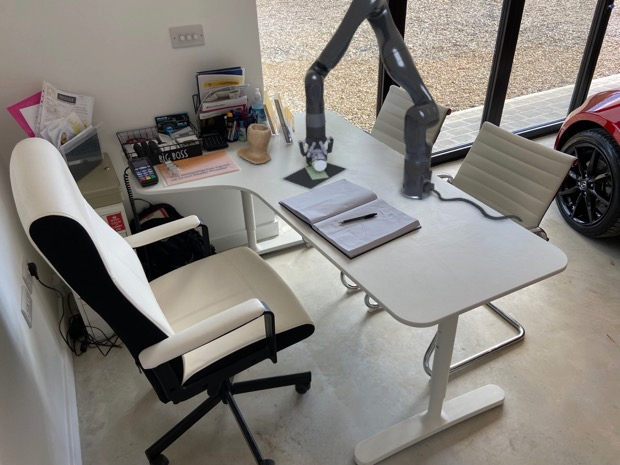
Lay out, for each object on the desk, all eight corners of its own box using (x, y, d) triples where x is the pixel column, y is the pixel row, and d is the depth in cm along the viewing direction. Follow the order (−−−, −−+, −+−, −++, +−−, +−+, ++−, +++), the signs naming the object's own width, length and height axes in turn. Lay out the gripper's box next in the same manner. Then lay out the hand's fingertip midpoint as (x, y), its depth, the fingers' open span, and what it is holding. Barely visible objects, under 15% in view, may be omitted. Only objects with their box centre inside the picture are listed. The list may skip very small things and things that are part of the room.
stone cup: (278, 160, 210) (275, 126, 203) (254, 168, 205) (250, 133, 197) (259, 150, 221) (256, 117, 213) (236, 157, 215) (232, 123, 207)
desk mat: (345, 169, 201) (345, 168, 201) (310, 188, 187) (310, 187, 187) (319, 161, 209) (318, 159, 208) (283, 179, 195) (283, 178, 194)
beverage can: (323, 145, 200) (331, 156, 190) (317, 161, 204) (326, 173, 194) (308, 142, 198) (316, 153, 188) (303, 159, 201) (311, 171, 191)
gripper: (330, 117, 192) (331, 158, 201) (294, 122, 189) (296, 162, 198) (336, 124, 186) (336, 165, 195) (299, 128, 183) (301, 170, 192)
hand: (316, 163), depth 196 cm, fingers closed on beverage can, 5 cm apart
